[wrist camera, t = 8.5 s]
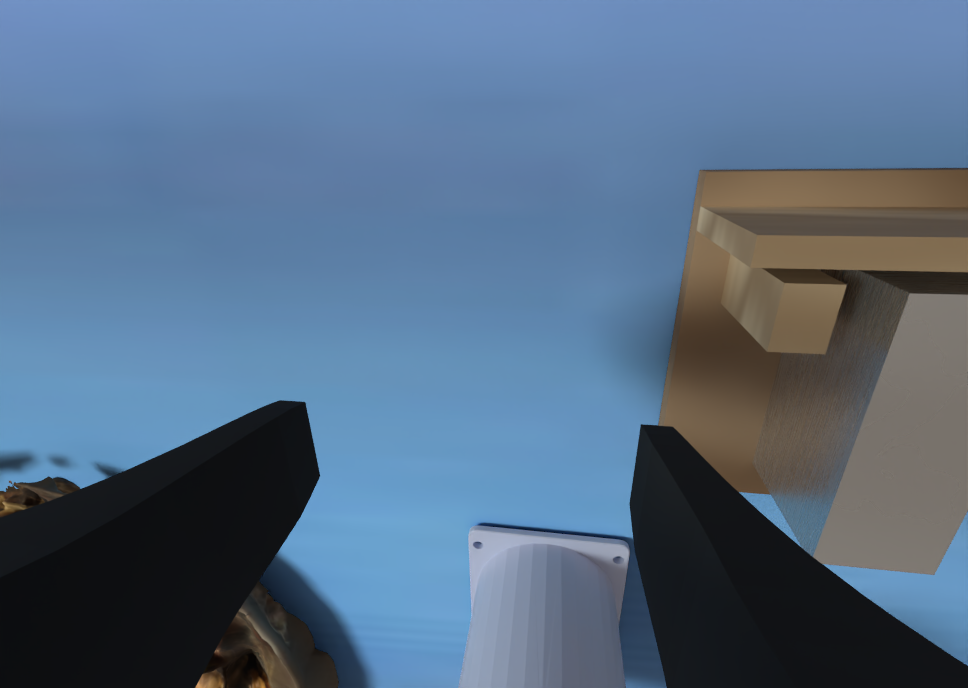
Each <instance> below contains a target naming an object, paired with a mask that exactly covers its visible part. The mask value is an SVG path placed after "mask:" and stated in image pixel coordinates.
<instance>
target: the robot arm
mask: <svg viewBox="0 0 968 688" xmlns="http://www.w3.org/2000/svg"><path fill="white" fill-rule="evenodd" d="M319 477H320V473H319V468H318V463H317V458H316V453H315V448H314V443H313V438H312V433H311V428H310V423H309V418H308V413H307V408H306V403H305V402H296V401H281V400H280V401H277V402H274V403H272V404H269V405H266V406H264V407H262V408H259V409H257V410H255V411H253V412H250V413H248V414H246V415H244V416H242V417H240V418H238V419H236V420H233V421H231V422H229V423H227V424H225V425H223V426H221V427H219V428H217V429H215V430H213V431H211V432H209V433H207V434H204V435H202V436H200V437H198V438H196V439H194V440H192V441H190V442H188V443H186V444H184V445H182V446H179V447H177V448H175V449H173V450H171V451H168V452H166V453H164V454H162V455H160V456H157V457H155V458H153V459H151V460H148V461H146V462H144V463H142V464H140V465H137V466H135V467H133V468H131V469H128V470H126V471H124V472H122V473H119V474H117V475H115V476H112V477H110V478H107V479H105V480H102V481H100V482H97V483H95V484H92V485H90V486H87V487H85V488H82V489H80V490H77V491H74V492H72V493H69V494H66V495H64V496H61V497H58V498H56V499H53V500H50V501H48V502H45V503H42V504H39V505H36V506H34V507H30V508H27V509H24V510H21V511H18V512H15V513H12V514H9V515H6V516H3V517H0V688H195V687H196V685H197V683H198V682H199V680H200V678H201V676H202V674H203V672H204V671H205V669H206V667H207V665H208V663H209V661H210V659H211V658H212V656H213V654H214V652H215V650H216V648H217V646H218V645H219V643H220V641H221V639H222V637H223V635H224V634H225V632H226V631H227V629H228V627H229V626H230V624H231V622H232V621H233V619H234V617H235V616H236V614H237V613H238V611H239V609H240V608H241V606H242V605H243V603H244V602H245V600H246V599H247V597H248V596H249V594H250V593H251V591H252V590H253V588H254V587H255V585H256V584H257V582H258V581H259V579H260V578H261V576H262V575H263V573H264V572H265V570H266V569H267V567H268V566H269V564H270V563H271V561H272V560H273V558H274V557H275V555H276V554H277V552H278V551H279V549H280V548H281V546H282V545H283V543H284V542H285V540H286V539H287V537H288V535H289V534H290V532H291V531H292V529H293V528H294V526H295V525H296V523H297V521H298V520H299V518H300V517H301V515H302V513H303V511H304V509H305V507H306V505H307V503H308V501H309V499H310V497H311V495H312V492H313V490H314V488H315V486H316V484H317V481H318V479H319ZM630 512H631V521H632V531H633V539H634V547H635V553H636V558H637V562H638V566H639V570H640V575H641V579H642V583H643V587H644V592H645V596H646V600H647V604H648V608H649V612H650V617H651V621H652V625H653V629H654V633H655V637H656V642H657V646H658V650H659V654H660V658H661V662H662V666H663V671H664V676H665V681H666V686H667V688H968V666H967V665H965V664H964V663H962V662H961V661H959V660H957V659H956V658H954V657H953V656H951V655H950V654H948V653H947V652H945V651H944V650H942V649H941V648H939V647H938V646H936V645H935V644H933V643H932V642H930V641H929V640H927V639H926V638H924V637H923V636H922V635H920V634H919V633H917V632H916V631H914V630H913V629H911V628H910V627H908V626H907V625H905V624H904V623H902V622H901V621H899V620H898V619H896V618H895V617H893V616H892V615H890V614H889V613H888V612H886V611H885V610H883V609H882V608H881V607H879V606H878V605H876V604H875V603H873V602H872V601H871V600H869V599H868V598H866V597H865V596H864V595H862V594H861V593H860V592H858V591H857V590H856V589H854V588H853V587H852V586H850V585H849V584H848V583H846V582H845V581H844V580H842V579H841V578H840V577H839V576H837V575H836V574H835V573H833V572H832V571H831V570H829V569H828V568H827V567H825V566H824V565H823V564H821V563H820V562H819V561H817V560H816V559H815V558H814V557H812V556H811V555H810V554H809V553H807V552H806V551H805V550H804V549H802V548H801V547H800V546H799V545H798V544H796V543H795V542H794V541H793V540H792V539H790V538H789V537H788V536H787V535H786V534H785V533H784V532H782V531H781V530H780V529H779V528H778V527H777V526H775V525H774V524H773V523H772V522H771V521H770V520H768V519H767V518H766V517H765V516H764V515H763V514H762V513H760V512H759V511H758V510H757V509H756V508H755V507H754V506H753V505H752V504H751V503H750V502H748V501H747V500H746V499H745V498H744V497H743V496H742V495H741V494H740V493H739V492H738V491H737V490H736V489H735V488H734V487H733V486H731V485H730V484H729V483H728V482H727V481H726V480H725V479H724V478H723V477H722V476H721V475H720V474H719V473H718V472H717V471H716V470H715V469H714V468H713V467H712V466H711V465H710V464H709V463H708V462H707V461H706V460H705V459H704V458H703V457H702V456H701V455H700V454H699V453H698V452H697V451H696V449H695V448H694V447H693V446H692V445H691V444H690V443H689V442H688V441H687V440H686V439H685V438H684V437H683V436H682V435H681V434H680V433H679V432H678V431H677V430H676V429H675V428H674V427H672V426H657V425H642V424H641V428H640V435H639V442H638V449H637V456H636V463H635V470H634V477H633V484H632V491H631V497H630ZM468 537H469V562H470V587H471V612H472V616H471V621H470V627H469V632H468V638H467V643H466V649H465V654H464V660H463V665H462V671H461V676H460V682H459V687H458V688H626V684H625V676H624V668H623V659H622V651H621V643H620V634H619V621H620V615H621V608H622V602H623V595H624V589H625V582H626V576H627V569H628V563H629V556H630V550H629V545H628V544H627V542H625V541H623V540H618V539H608V538H598V537H588V536H578V535H568V534H558V533H549V532H539V531H529V530H519V529H509V528H499V527H489V526H473V527H472V528H471V529H470V532H469V536H468ZM478 542H481V543H478ZM617 556H620V557H619V558H617Z"/></svg>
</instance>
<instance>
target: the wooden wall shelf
mask: <svg viewBox="0 0 968 688" xmlns="http://www.w3.org/2000/svg"><path fill="white" fill-rule="evenodd" d="M818 269H834V270H882V271H931V272H968V168H912V169H773V170H700V171H699V177H698V183H697V190H696V196H695V202H694V208H693V214H692V220H691V227H690V233H689V239H688V245H687V251H686V257H685V264H684V270H683V276H682V282H681V288H680V294H679V301H678V307H677V313H676V319H675V325H674V331H673V338H672V344H671V350H670V356H669V362H668V368H667V375H666V381H665V387H664V393H663V399H662V405H661V412H660V418H659V424H658V426H672V427H674V428H675V429H676V430H677V431H678V432H679V433H680V434H681V435H682V436H683V437H684V438H685V439H686V440H687V441H688V442H689V443H690V444H691V445H692V446H693V447H694V448H695V449H696V451H697V452H698V453H699V454H700V455H701V456H702V457H703V458H704V459H705V460H706V461H707V462H708V463H709V464H710V465H711V466H712V467H713V468H714V469H715V470H716V471H717V472H718V473H719V474H720V475H721V476H722V477H723V478H724V479H725V480H726V481H727V482H728V483H729V484H730V485H731V486H733V487H734V488H735V489H736V490H737V491H738V492H747V493H759V494H770V492H769V491H768V489H767V487H766V486H765V484H764V482H763V481H762V479H761V477H760V475H759V474H758V472H757V470H756V469H755V467H754V465H753V464H752V462H753V459H754V455H755V451H756V447H757V444H758V440H759V436H760V432H761V428H762V425H763V421H764V417H765V413H766V410H767V406H768V402H769V398H770V394H771V391H772V387H773V383H774V379H775V376H776V372H777V368H778V364H779V360H780V357H781V353H782V352H784V353H807V354H825V353H826V350H827V347H828V344H829V341H830V337H831V334H832V331H833V328H834V325H835V321H836V318H837V315H838V312H839V309H840V305H841V302H842V299H843V296H844V293H845V289H846V286H847V285H846V284H844V283H843V282H841V281H839V280H837V279H835V278H833V277H831V276H829V275H827V274H825V273H823V272H821V271H820V270H818Z"/></svg>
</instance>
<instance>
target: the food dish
mask: <svg viewBox="0 0 968 688" xmlns="http://www.w3.org/2000/svg"><path fill="white" fill-rule="evenodd" d="M9 483H11V484H12V482H11V481H9ZM13 485H14V486H15V487H17V488H19V489H16V488H14V486H13V487H10V486H8V489H7V488H6V492H4V491H0V517H3V516H6V515H9V514H12V513H15V512H18V511H21V510H24V509H27V508H30V507H34V506H36V505H39V504H42V503H45V502H48V501H50V500H53V499H56V498H58V497H61V496H64V495H66V494H69V493H72V492H74V491H77V490H80V488H79V487H78V486H76V485H75V484H73V483H72V482H69V481H67V480H65V479H62V478H53V479H52V478H50V477H47V478H45V479H44V480H42V481H39V482H35V483H23V482H21V483H14V484H13ZM268 592H269V591H268V590H267V589H266V588H265V587H264V586H263V585H262V584H261V583H260V582H259V581H258V582H257V584H256V585H255V587H254V588H253V590H252V591H251V593H250V594H249V596H248V597H247V599H246V600H245V602H244V603H243V605H242V606H241V608H240V609H239V611H238V613H237V614H236V616H235V617H234V619H233V621H232V622H231V624H230V626H229V627H228V629H227V631H226V632H225V634H224V635H223V637H222V639H221V641H220V643H219V645H218V646H217V648H216V650H215V652H214V654H213V656H212V658H211V659H210V661H209V663H208V665H207V667H206V669H205V671H204V672H203V674H202V676H201V678H200V680H199V682H198V683H197V685H196V687H195V688H338V684H339V681H338V676H337V672H336V668H335V664H334V661H333V660H332V658H331V657H330V656H329V655H328V654H327V653H325V652H323V651H319V650H317V649H315V644H314V640H313V637H312V635H311V633H310V631H309V629H308V627H307V625H306V624H305V623H304V622H303V621H301V620H300V619H298V618H297V617H296V616H294V615H292V614H290V613H288V612H286V610H285V609H284V608H283V607H282V605H281V604H280V603H278V602H275V601H273V598H272V597H271V596H270V595H268V594H267V593H268Z"/></svg>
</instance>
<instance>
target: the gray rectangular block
mask: <svg viewBox="0 0 968 688" xmlns="http://www.w3.org/2000/svg"><path fill="white" fill-rule="evenodd" d="M818 270H820V271H821V272H823V273H825V274H827V275H829V276H831V277H833V278H835V279H837V280H839V281H841V282H843V283H844V284H846V285H847V286H846V289H845V293H844V296H843V299H842V302H841V305H840V309H839V312H838V315H837V318H836V321H835V325H834V328H833V331H832V334H831V337H830V341H829V344H828V347H827V350H826V353H825V354H807V353H784V352H782V353H781V357H780V360H779V364H778V368H777V372H776V376H775V379H774V383H773V387H772V391H771V394H770V398H769V402H768V406H767V410H766V413H765V417H764V421H763V425H762V428H761V432H760V436H759V440H758V444H757V447H756V451H755V455H754V459H753V462H752V464H753V465H754V467H755V469H756V470H757V472H758V474H759V475H760V477H761V479H762V481H763V482H764V484H765V486H766V487H767V489H768V491H769V492H770V494H771V496H772V498H773V499H774V501H775V503H776V504H777V506H778V508H779V509H780V511H781V513H782V515H783V516H784V518H785V520H786V521H787V523H788V525H789V526H790V528H791V530H792V532H793V533H794V535H795V537H796V538H797V540H798V542H799V543H800V545H801V547H802V549H804V550H805V551H806V552H807V553H809V554H810V555H811V556H812V557H814V558H815V559H816V560H817V561H819V562H820V563H821V564H829V565H839V566H849V567H859V568H869V569H879V570H890V571H900V572H910V573H920V574H930V575H934V574H935V572H936V570H937V568H938V566H939V565H940V563H941V561H942V559H943V557H944V555H945V553H946V551H947V549H948V547H949V545H950V544H951V542H952V540H953V538H954V536H955V534H956V532H957V530H958V528H959V526H960V525H961V523H962V521H963V519H964V517H965V515H966V513H967V511H968V272H931V271H882V270H834V269H818Z"/></svg>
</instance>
